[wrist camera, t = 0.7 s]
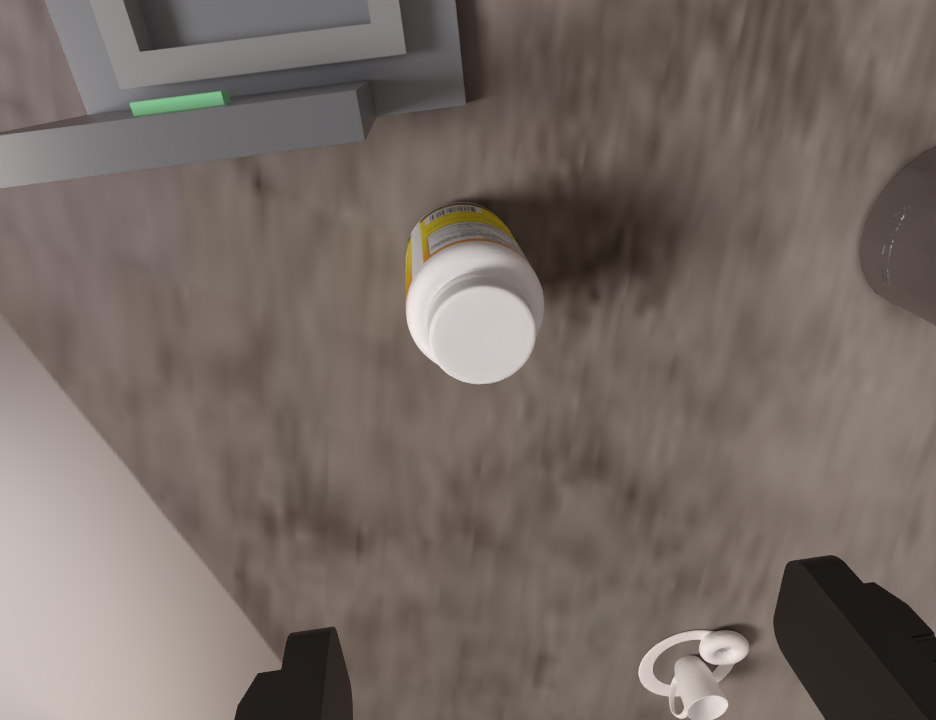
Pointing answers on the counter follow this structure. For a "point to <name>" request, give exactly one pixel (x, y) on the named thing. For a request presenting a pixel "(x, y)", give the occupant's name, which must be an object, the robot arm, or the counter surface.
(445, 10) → the charging dock
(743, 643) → the teacup and saucer
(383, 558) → the counter surface
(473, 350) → the supplement bottle
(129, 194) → the counter surface
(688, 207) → the counter surface
